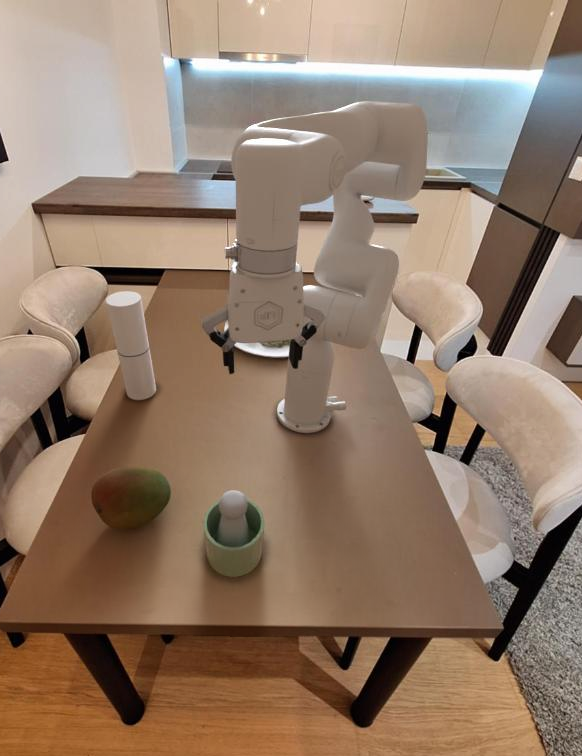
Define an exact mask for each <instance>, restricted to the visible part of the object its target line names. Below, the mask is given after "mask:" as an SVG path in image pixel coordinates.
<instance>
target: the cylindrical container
mask: <svg viewBox="0 0 582 756" xmlns="http://www.w3.org/2000/svg"><path fill="white" fill-rule="evenodd" d="M105 303H106V308H107V312H108V316H109V322H110V325H111V330H112V335H113V339H114V343H115V348H116V352H117V353H116V354H117V358H118V361H119V366H120V370H121V374H122V379H123V383H124V388H125V393H126V396H127V397H128V398H129V399H131V400H135V401H142V400H146V399H147V400H148V399H150V398H151V397H153V396H154V395H155V393H156V391H157V386H156V380H155V374H154V373H155V372H154V368H153V362H152V356H151V350H150V344H149V338H148V331H147V325H146V319H145V312H144V307H143V299H142V296H141V294H140V293H138V292H136V291H132V290H131V291H130V290H123V291H117V292H113V293H111V294H110V295H108V296H107V297H106V298H105Z"/></svg>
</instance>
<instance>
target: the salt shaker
mask: <svg viewBox="0 0 582 756" xmlns="http://www.w3.org/2000/svg"><path fill="white" fill-rule="evenodd" d="M246 499H247V496H246V495H245V494H244V493H243V492H241V491H239V490H235V489H234V490H233V489H231V490H228V491H225V492H224V493H223V494H221V496H220V498H219V504H218V505H219V510H220V513H221V514H222V515H221V519H220V523H219V527H218V531H217V535H216V542H217V543H219V544H221V545H223V546H226V547H232V548H233V547H240V546H244V545H246V544H248V543H250V542H251V535H250V531H249V527H248V524H247V520H246V516H245V513H246V510H247V506H248V503H247V500H246Z"/></svg>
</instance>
